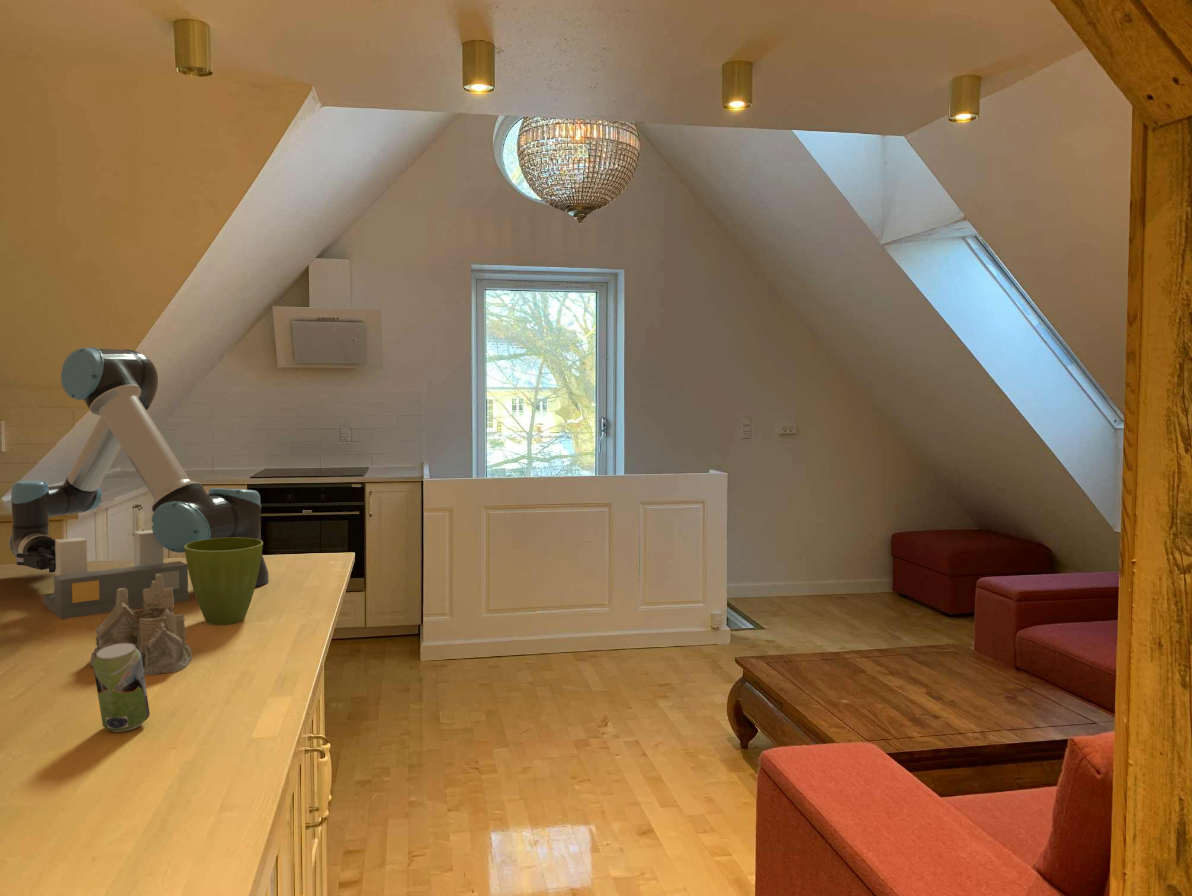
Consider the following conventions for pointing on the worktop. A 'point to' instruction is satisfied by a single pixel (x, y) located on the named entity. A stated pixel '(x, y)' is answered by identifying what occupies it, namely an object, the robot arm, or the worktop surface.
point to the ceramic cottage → (148, 630)
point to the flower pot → (224, 576)
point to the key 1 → (71, 556)
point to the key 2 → (147, 549)
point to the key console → (112, 588)
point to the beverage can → (121, 687)
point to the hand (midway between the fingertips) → (67, 567)
